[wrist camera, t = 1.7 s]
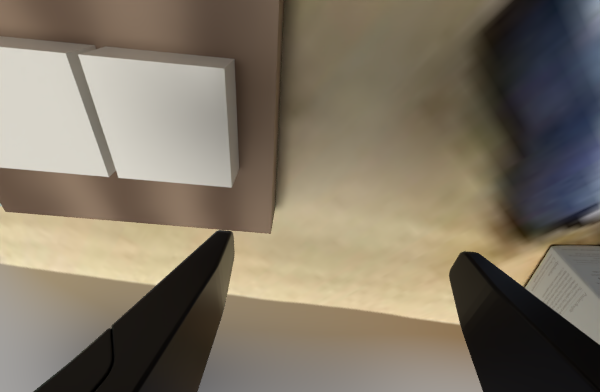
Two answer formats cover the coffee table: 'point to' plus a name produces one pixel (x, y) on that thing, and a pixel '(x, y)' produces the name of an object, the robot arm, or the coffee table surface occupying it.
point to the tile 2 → (166, 114)
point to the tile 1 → (49, 110)
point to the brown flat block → (173, 39)
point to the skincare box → (571, 285)
